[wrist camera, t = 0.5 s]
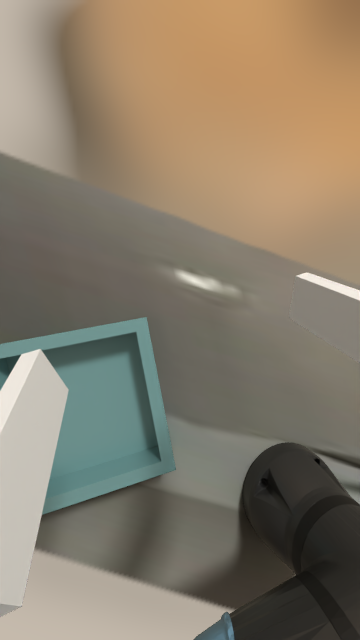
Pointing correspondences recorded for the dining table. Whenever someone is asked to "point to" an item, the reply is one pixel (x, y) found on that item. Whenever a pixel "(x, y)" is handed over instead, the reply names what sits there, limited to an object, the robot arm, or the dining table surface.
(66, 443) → the tray
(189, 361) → the dining table surface
